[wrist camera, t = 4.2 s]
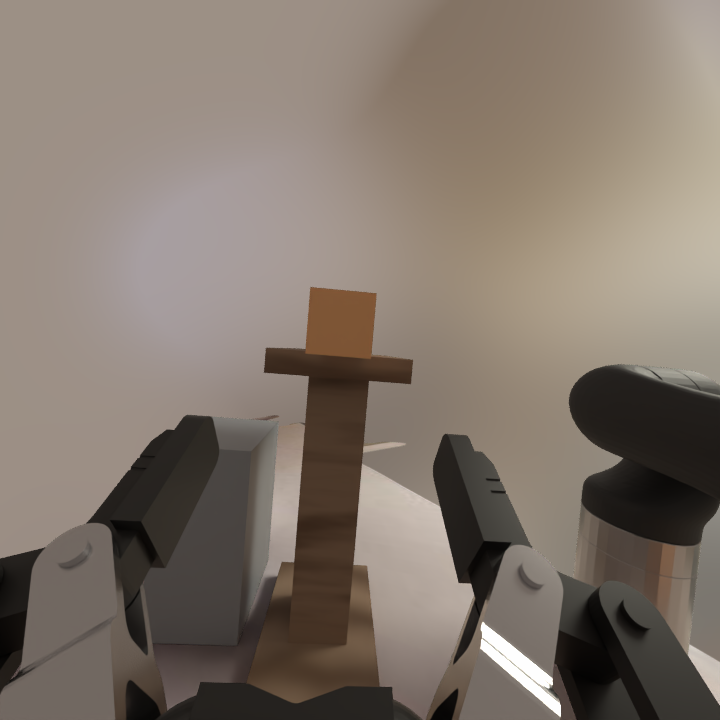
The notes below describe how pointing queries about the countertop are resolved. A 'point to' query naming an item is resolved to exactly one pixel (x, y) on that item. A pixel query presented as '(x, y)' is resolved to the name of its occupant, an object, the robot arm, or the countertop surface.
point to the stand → (324, 538)
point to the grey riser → (219, 544)
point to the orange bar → (340, 323)
